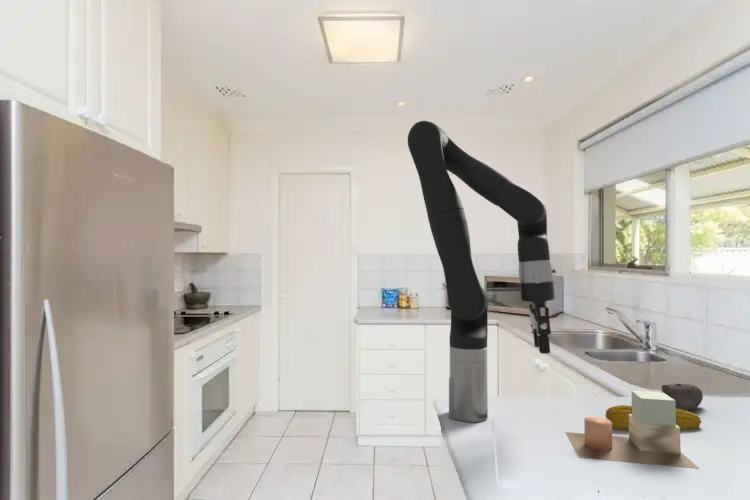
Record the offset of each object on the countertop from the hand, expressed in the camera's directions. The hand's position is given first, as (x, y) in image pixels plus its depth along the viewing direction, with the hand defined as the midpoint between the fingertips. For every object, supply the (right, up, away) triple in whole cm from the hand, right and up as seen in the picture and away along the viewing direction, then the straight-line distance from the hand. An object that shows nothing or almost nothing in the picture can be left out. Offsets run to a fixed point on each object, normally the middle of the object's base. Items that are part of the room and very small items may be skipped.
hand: (542, 349), depth 106 cm
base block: (+17, -16, -14) cm, 28 cm away
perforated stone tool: (+42, -19, +14) cm, 48 cm away
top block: (+17, -11, -14) cm, 25 cm away
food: (+24, -18, -3) cm, 30 cm away
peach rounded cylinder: (+6, -16, -15) cm, 23 cm away
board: (+11, -17, -16) cm, 26 cm away
